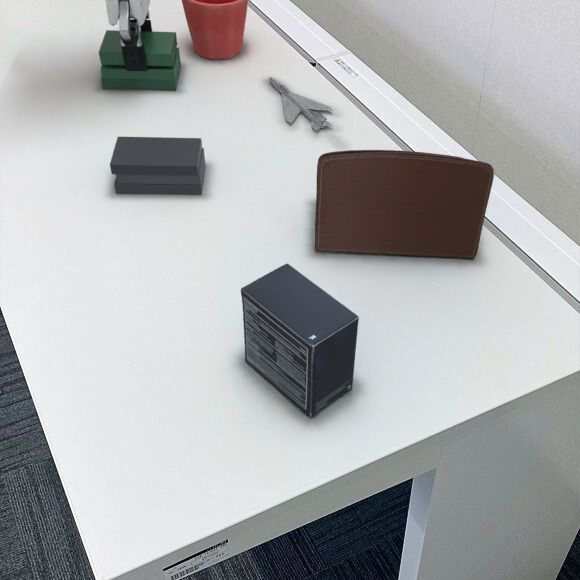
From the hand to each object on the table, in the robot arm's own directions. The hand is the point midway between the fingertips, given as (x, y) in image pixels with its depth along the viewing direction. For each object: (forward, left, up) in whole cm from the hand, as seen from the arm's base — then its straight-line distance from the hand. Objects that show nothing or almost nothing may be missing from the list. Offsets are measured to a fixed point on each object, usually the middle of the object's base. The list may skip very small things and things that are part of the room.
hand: (140, 56), depth 117 cm
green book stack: (0, 0, -3) cm, 3 cm away
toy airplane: (+25, -9, -4) cm, 27 cm away
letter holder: (+36, -37, -4) cm, 52 cm away
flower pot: (+11, +10, -4) cm, 15 cm away
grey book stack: (+6, -27, -3) cm, 28 cm away
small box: (+24, -61, -4) cm, 66 cm away
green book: (0, 0, 0) cm, 0 cm away
